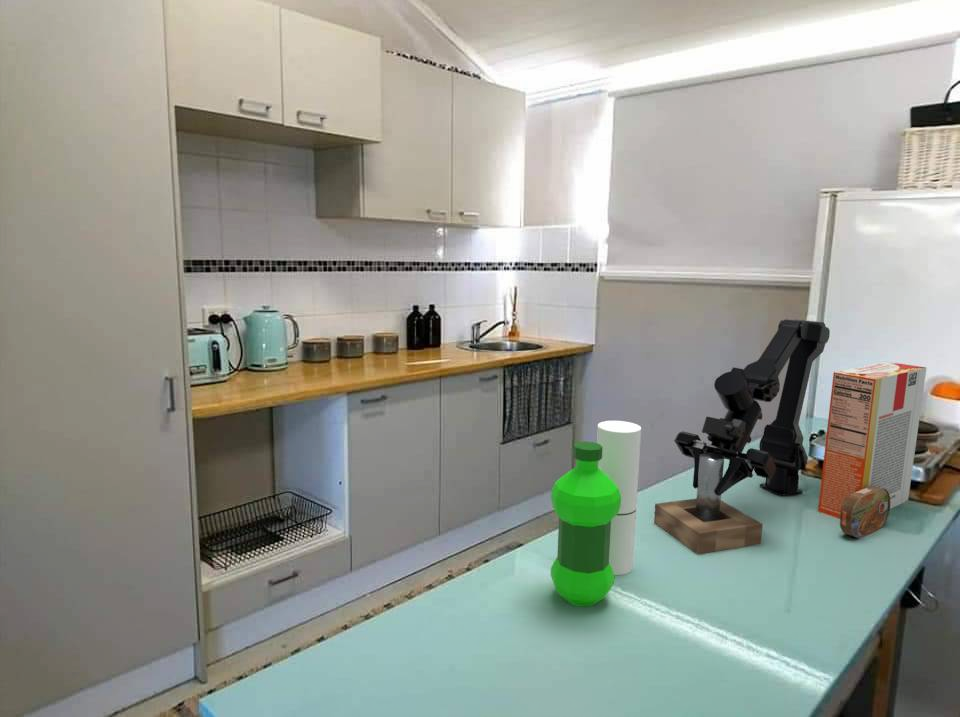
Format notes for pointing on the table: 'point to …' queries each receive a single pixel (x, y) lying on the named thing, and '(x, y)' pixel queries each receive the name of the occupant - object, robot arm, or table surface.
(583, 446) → the plastic bottle
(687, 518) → the collar block
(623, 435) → the cylindrical container
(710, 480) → the grey glossy round cylinder
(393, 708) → the table surface
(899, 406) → the pasta box
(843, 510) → the tin
